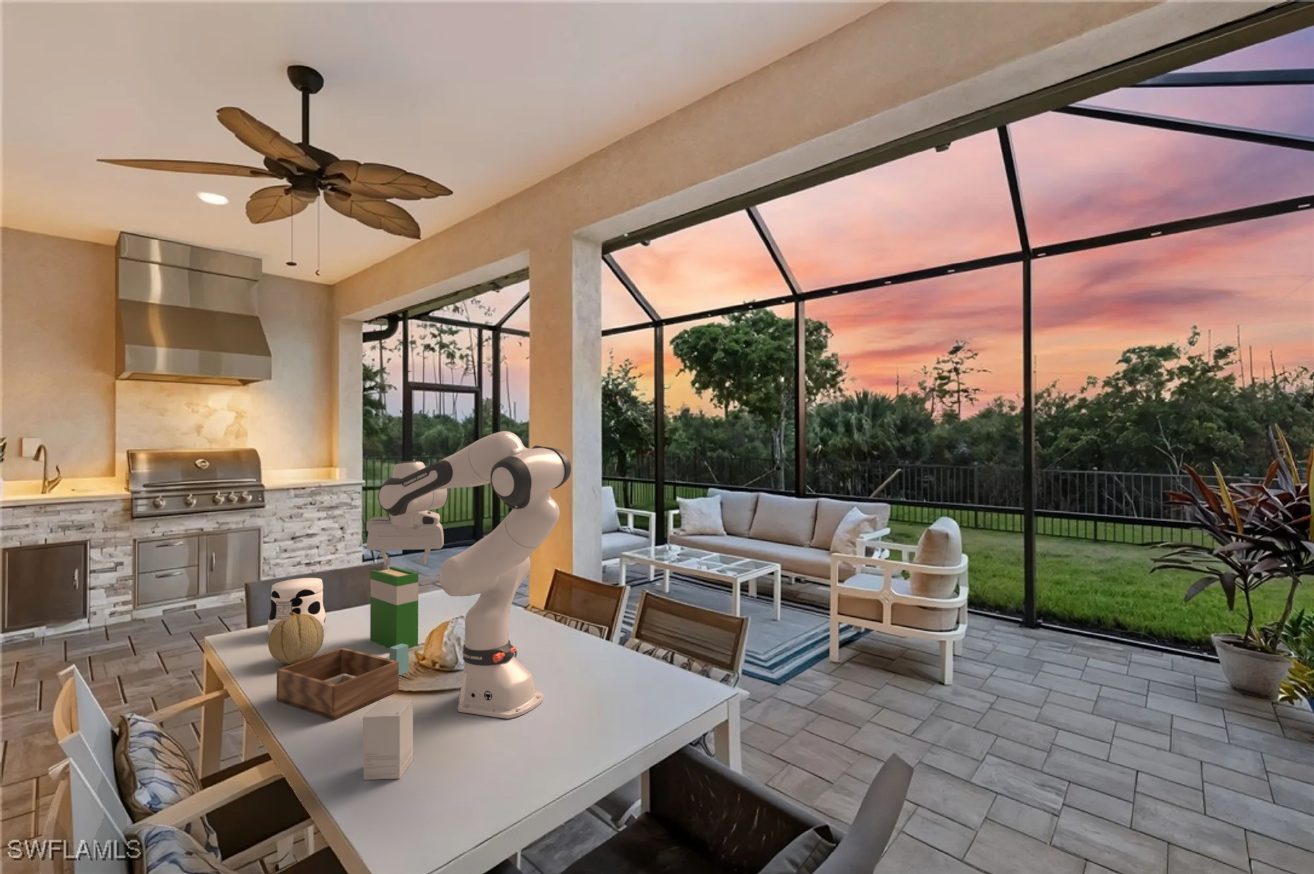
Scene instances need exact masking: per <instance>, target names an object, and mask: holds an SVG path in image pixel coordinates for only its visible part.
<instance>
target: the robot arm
mask: <svg viewBox="0 0 1314 874" xmlns="http://www.w3.org/2000/svg"><path fill="white" fill-rule="evenodd" d="M392 471H393V472H392V476H391V477H390V478H389V477H388V478H387V480H386V481H384V483H383V484H382V485H381V486H380V488H379V490H378V495H377V498H378V503H379V505H380V507H381V509H383V511H384V512H386V513H387V514H389V516H372V518H369V519H368V520H367V521H366V531H367V532H368V534H367V538H366V548H367V549H368V550H369V551H380V552H379V553H380V556H381V558H382V559H383V560H384V561H383V562H384V563H383V564H384V566H390V565H391V563H392V558H391V557H388V555H387V554H386V553H387V551H392V550H393V551H399V550H403V551H405V550H408V551H409V550H424V553H425V554H424V556H420V560H419V561H420V562H419V565H426V564H427V558H428V557H429V555H430V553H431V550H440V549H442V548H443V546H444V543H445V542H444V538H445V537H444V529H443V525H442V524H441V523H440V520H441V516H440V514H439V513H437V512H436V511H435V512H434V511H433V510H437V509H440V508H443V507H444V506H445V505H446V504H447V502H448V500H449V497H450V489H459V488H460V489H461V488H470V487H471V488H472V487H479V486H483V485H487V484H490V485H491V488H492V490H493V491H494V492H493V493H495V494H496V495H497V497H498V498H499V499H500V500H501V501H502V502H503V503H504V504H505V505H506V506H507V507H509V508H511V509H512V510H510V512H508V514H507V516H505V517H504V518H503V519H502V520H501V522H500V523H499V524H498V525H497V526H496V527H495V528H494V529H493V530H492V531H491V532H489V534H487V535H486V536H484V537H482V538H480V539H479V540H478V541H476V542H475V543H474V544H473V545H471V546H469V547H468V548H467V549H465V550H463V551H461V552H459V553H458V554H455V555H453V556H451V557H449V558H446V560H444V561H443V563H442V565H441V566H440V570H439V578H438V579H439V584H440V586H441V588H442V590H443V591H444V593H445V594H447V595H448V596H450V597H471V596H475V595H479V594H480V595H479V597H478V599H477V600H476V601H475V603H474V604H473V606H471V607H470V609H469V610H468V611H467V612H466V614H465V617H464V644H463V646H462V647H463V648H462V660H463V661H464V665H463V671H462V678H461V687H460V690H459V691H460V693H459V696H458V697H457V701H458V702H457V703H458V705H457V712H459V713H464V714H465V713H467V714H474V715H478V716H479V715H480V716H486V717H492V718H499V719H500V718H501V719H509V720H510V719H513V718H516V717H519V716H522V715H524V714H526V713H528V712H531V710H533V709H535V708H536V707H537V706H539V705H540V704H542V702H543V700H544V698H545V696H544V693H543V692H541V691H539V690H537V689H535V688H536V687H535V681H534V677H533V675H532V674H531V672H530V671H529V670H528V669H527V668H525V667H524V665H523V664H521V662H520V661H519V660H518V659H517V658H516V657H515V654H514V652H516V651H517V648H518V647H517V645H516V646H513V647H512V644H511V641H510V639H509V632H510V631H509V625H510V624H509V623H510V611H511V606H512V603H513V600H514V598H515V595H516V593H517V590H518V589H519V587H520V585H521V584H522V583H523V581H524V580H525V579H526V578H527V577H528V575H529V573H530V572H531V571H530V570H531V558H530V556H531V555H532V554H533V553H534V552H535V551H536V550H537V549H538V548H539V547H540V546H541V545H542V544H543V542H545V541H546V539H547V538H548V537H549V536H550V534H551V533H552V532H553V529H554V528H555V526H556V524H557V523H558V522H559V519H560V515H561V513H560V512H561V511H560V508H559V507H560V506H559V505H558V503H557V501H556V500H555V499H553V498H552V496H551V492H550V491H553V490H555V489H558V488H559V487H561V486H562V485H564V484H565V483H566V482H567V481H568V479H569V478H570V477H571V471H572V466H571V461H570V458H569V457H568V455H567V454H566V453H565V452H564V451H563V450H561V449H558V448H554V447H550V446H549V447H547V446H541V445H536V444H535V445H534V446H532V448H528V447H526V446H525V445H524V443H523V441H522V440H521V438H520V437H519V436H518V435H517V434H515V433H514V432H512V431H506V430H502V431H498V432H494V433H492V434H488V435H487V436H484V437H482V438H480V439H478V440H476V441H474V442H473V443H470V444H468V445H467V446H465V447H463V448H462V449H460V450H458V451H456V452H455V453H453V454H451V455H449V456H447V457H444V458H443V459H440V460H439V461H437V462H435V463H433V464H429V465H428V466H426V465H425V463H424V462H422V461H420V460H409V461H401V462H398V463H396V464H395V465H394V467H393V469H392Z"/></svg>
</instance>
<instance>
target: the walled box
mask: <svg viewBox="0 0 1314 874" xmlns="http://www.w3.org/2000/svg"><path fill="white" fill-rule="evenodd" d="M399 677H400V676H399V662H398V661H394V660H390V658H386V657H382V656H378V655H374V654H371V653H366V652H362V651H358V650H355V649H350V648H346V647H340V648H337V649H333V650H331V651H328V652H325V653H322V654H319V655H314V656H312V657H311V658H309V659H307V660H304V661H301V662H298V663H295V664H288V665H286V666H283V667H280V668H278V669H277V668H276V701H278V702H280V703H284V704H286V705H289V706H292V707H295V708H298V709H301V710H302V711H303V710H304V711H307V712H309V713H312V714H315V715H318V716H321V717H324V718H326V719H330V720H333V721H336V720H339V719H340V718H343V717H345V716H347V715H349V714H350V715H351V714H352V713H354V712H356V711H358V710H361V709H362V708H365V707H367V706H370V705H371V704H374V703H377V702H379V701H382V700H383V699H385V698H386V697H387V698H388V697H389V696H391V695H393V694H396V693H398V692H399V691H398V690H399V688H400V687H399V686H400V685H399ZM397 691H398V692H397Z"/></svg>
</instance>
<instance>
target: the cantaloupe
mask: <svg viewBox="0 0 1314 874" xmlns="http://www.w3.org/2000/svg"><path fill="white" fill-rule="evenodd" d="M289 615H292V616H289V617H286V618H284V619H282V620H281V621H279V622H278V623H277V624H276V625H275V626H274V628H273V629H272V631H271V632H270V633H269V636H268V640H267V646H268V651H269V653H270V655H271V656H272V658H273V659H274V660H276V661H278V662H279V663H282V664H287V665H292V664H295V663H298V662H301V661H304V660H307V659H309V658H312V657H314V656H316V654H317V653H318V652H319V650H320V649H321V647H322V645H323V643H324V638H325V631H324V626H322V625H321V623H320V621H318V620H317V619H316V618H315V617H314V616H312V615H308V614H296V613H294V612H290V614H289Z"/></svg>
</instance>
